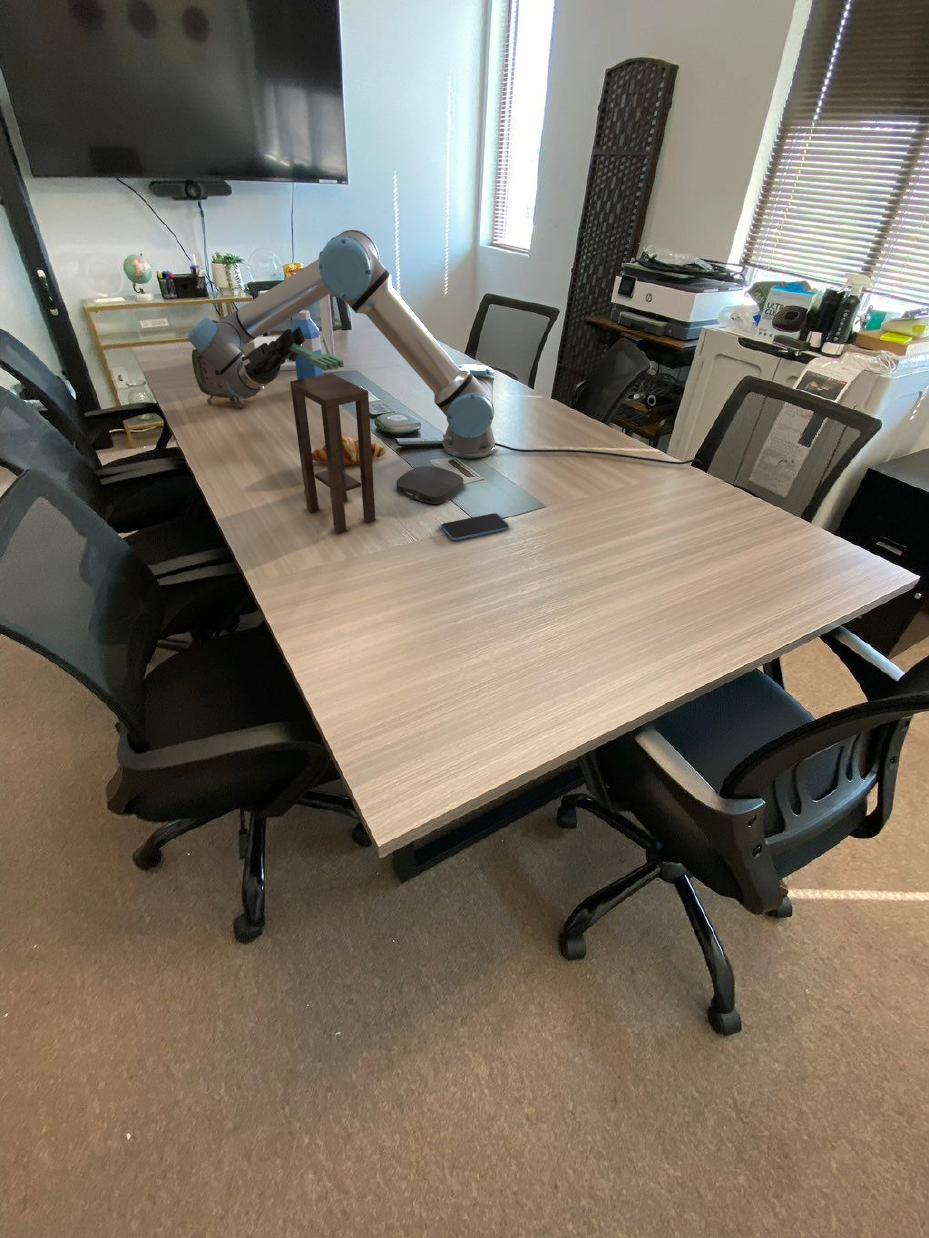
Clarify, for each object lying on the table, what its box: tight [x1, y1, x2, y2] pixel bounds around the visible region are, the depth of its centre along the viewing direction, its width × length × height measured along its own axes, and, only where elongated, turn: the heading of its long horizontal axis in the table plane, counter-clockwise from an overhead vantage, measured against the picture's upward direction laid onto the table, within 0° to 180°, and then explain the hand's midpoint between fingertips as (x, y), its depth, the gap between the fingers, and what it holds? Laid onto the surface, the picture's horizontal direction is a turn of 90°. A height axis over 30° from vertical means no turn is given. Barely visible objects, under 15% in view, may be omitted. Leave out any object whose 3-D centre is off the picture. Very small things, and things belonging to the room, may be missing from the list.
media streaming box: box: [396, 465, 465, 505], centre depth 154 cm, size 15×15×3 cm
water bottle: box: [291, 309, 324, 380], centre depth 200 cm, size 9×9×25 cm
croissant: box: [312, 435, 387, 467], centre depth 164 cm, size 21×10×8 cm, turn 112°
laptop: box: [253, 294, 336, 371], centre depth 231 cm, size 40×29×28 cm
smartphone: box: [440, 512, 510, 541], centre depth 140 cm, size 7×1×15 cm
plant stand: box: [289, 372, 376, 535], centre depth 133 cm, size 14×10×30 cm
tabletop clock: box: [191, 319, 246, 409], centre depth 187 cm, size 14×9×25 cm, turn 76°
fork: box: [276, 339, 345, 372], centre depth 125 cm, size 22×4×1 cm, turn 42°
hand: (296, 335), depth 125 cm, fingers closed on fork, 2 cm apart
